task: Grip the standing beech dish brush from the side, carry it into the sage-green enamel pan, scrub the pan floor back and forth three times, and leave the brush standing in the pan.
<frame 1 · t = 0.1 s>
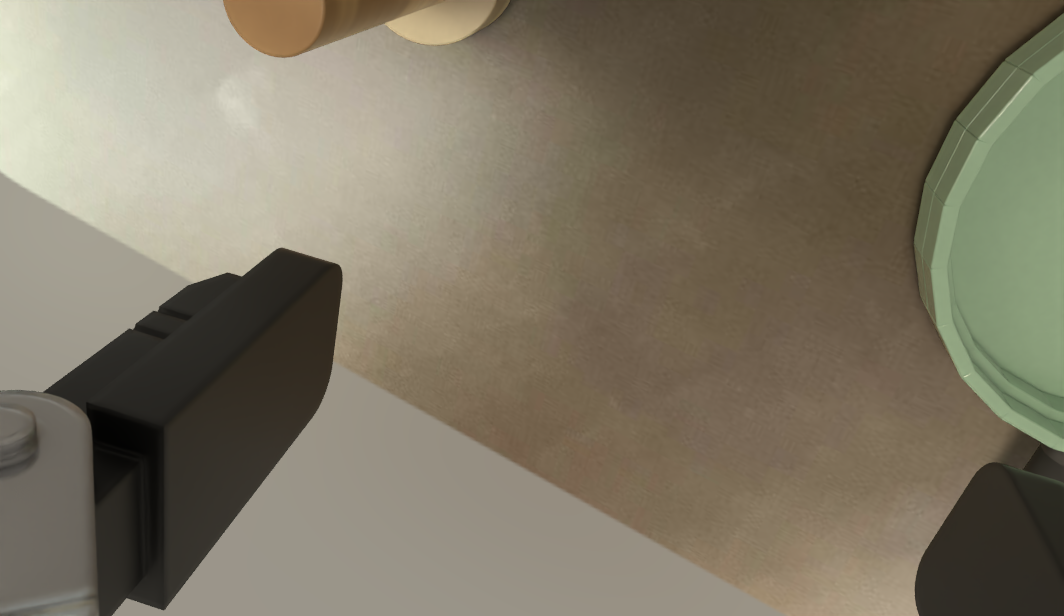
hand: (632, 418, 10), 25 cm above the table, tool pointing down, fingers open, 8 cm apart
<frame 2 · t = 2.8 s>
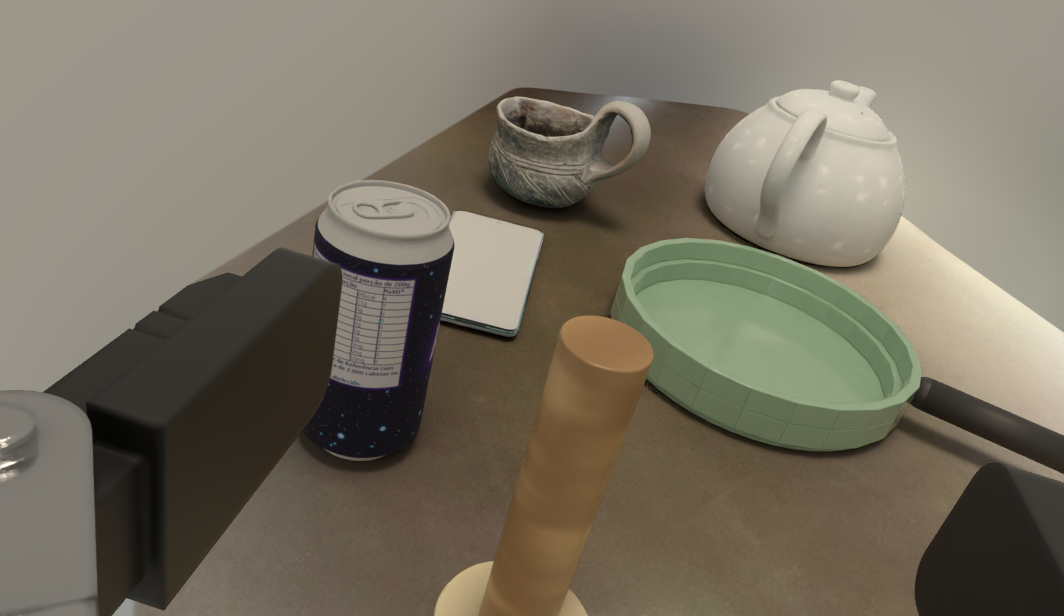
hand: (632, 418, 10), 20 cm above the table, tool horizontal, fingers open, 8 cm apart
pan: (749, 355, 53), on the table
teapot: (784, 230, 74), on the table
smartphone: (480, 273, 54), on the table
mug: (552, 205, 67), on the table
beverage can: (357, 433, 38), on the table
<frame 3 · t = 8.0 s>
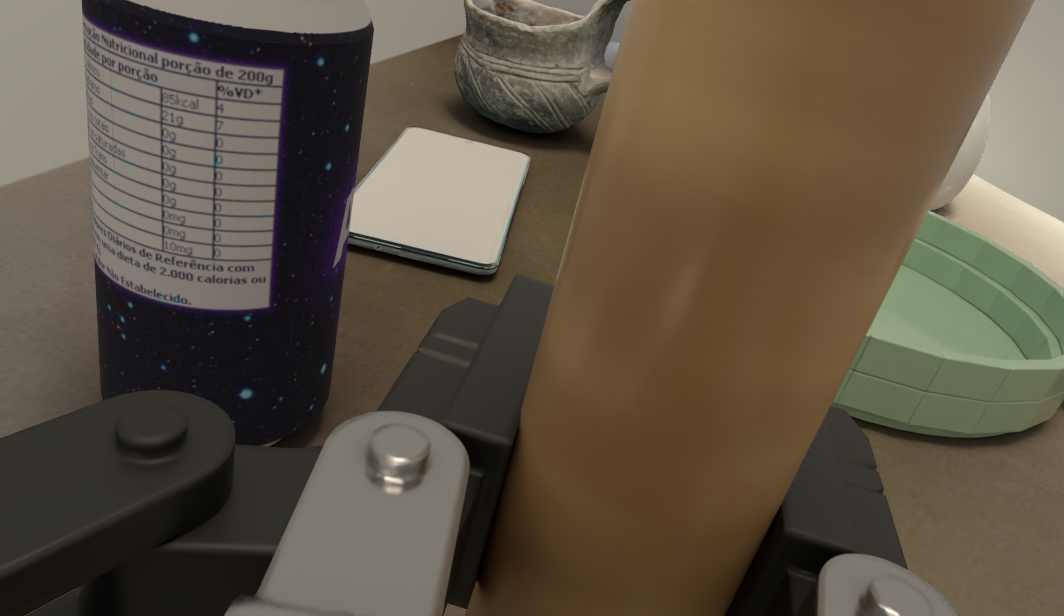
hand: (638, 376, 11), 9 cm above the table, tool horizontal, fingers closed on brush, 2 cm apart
pan: (828, 308, 37), on the table
teapot: (830, 173, 59), on the table
smartphone: (442, 199, 38), on the table
mug: (539, 133, 51), on the table
beverage can: (219, 413, 22), on the table
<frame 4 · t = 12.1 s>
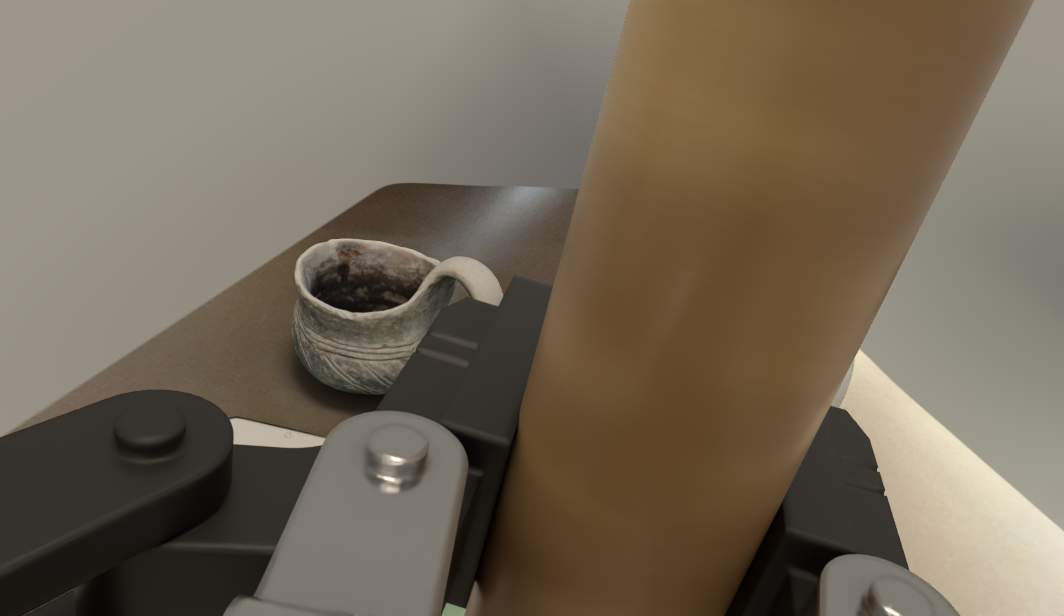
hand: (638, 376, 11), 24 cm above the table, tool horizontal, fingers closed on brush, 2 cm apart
teapot: (703, 388, 57), on the table
smartphone: (233, 540, 37), on the table
mug: (386, 382, 50), on the table
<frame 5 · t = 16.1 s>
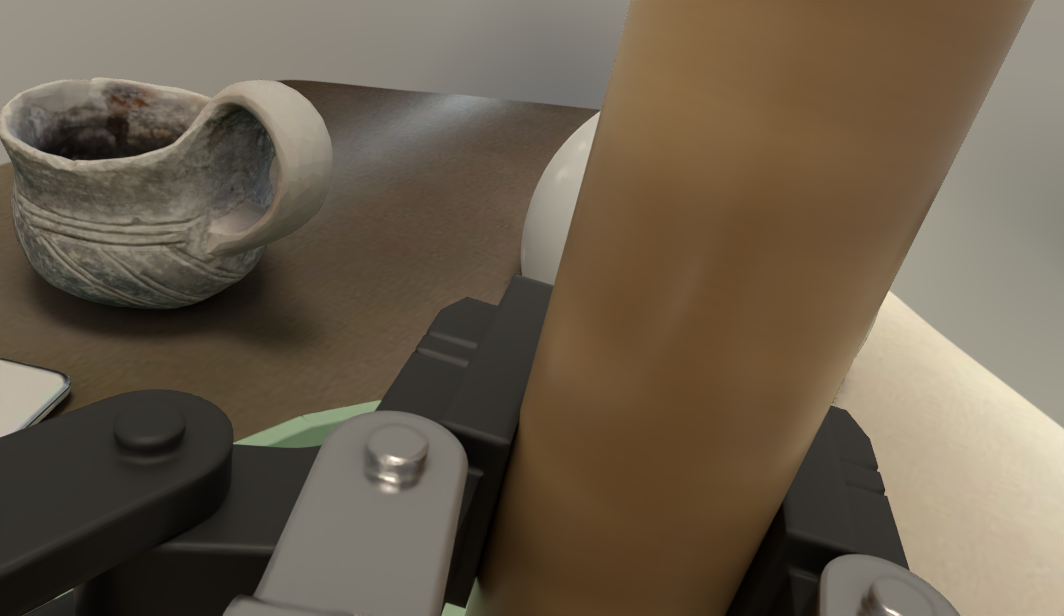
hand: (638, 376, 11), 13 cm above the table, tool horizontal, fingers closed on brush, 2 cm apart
teapot: (669, 324, 41), on the table
mug: (183, 297, 33), on the table
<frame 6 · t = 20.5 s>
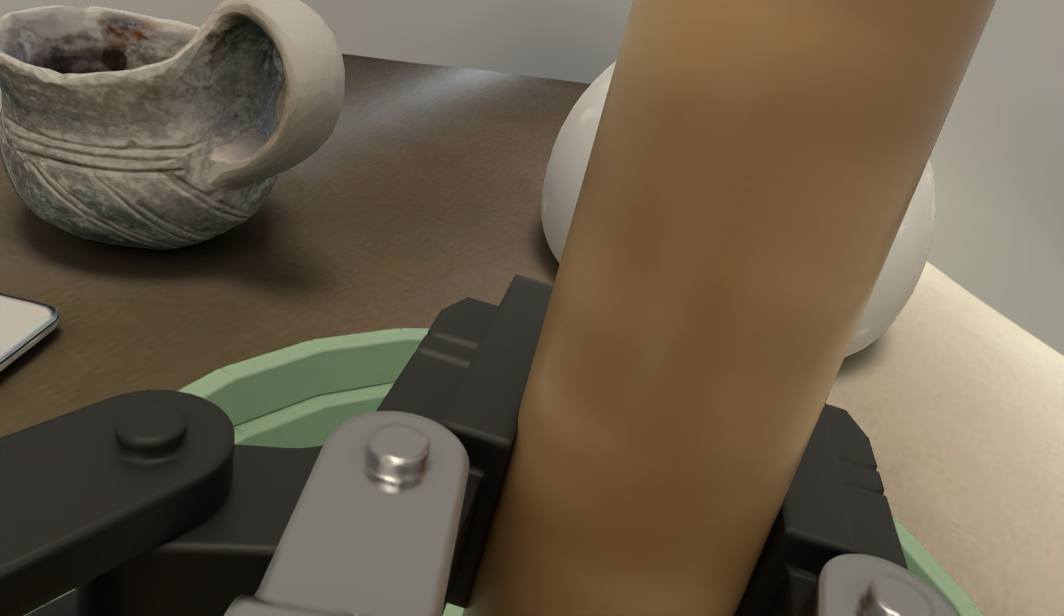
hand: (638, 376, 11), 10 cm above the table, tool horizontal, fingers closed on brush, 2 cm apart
teapot: (698, 284, 38), on the table
mug: (184, 242, 31), on the table
when the fingers open (9 cm above the table, at t = 24.4 s): brush drops 1 cm, resting on pan.
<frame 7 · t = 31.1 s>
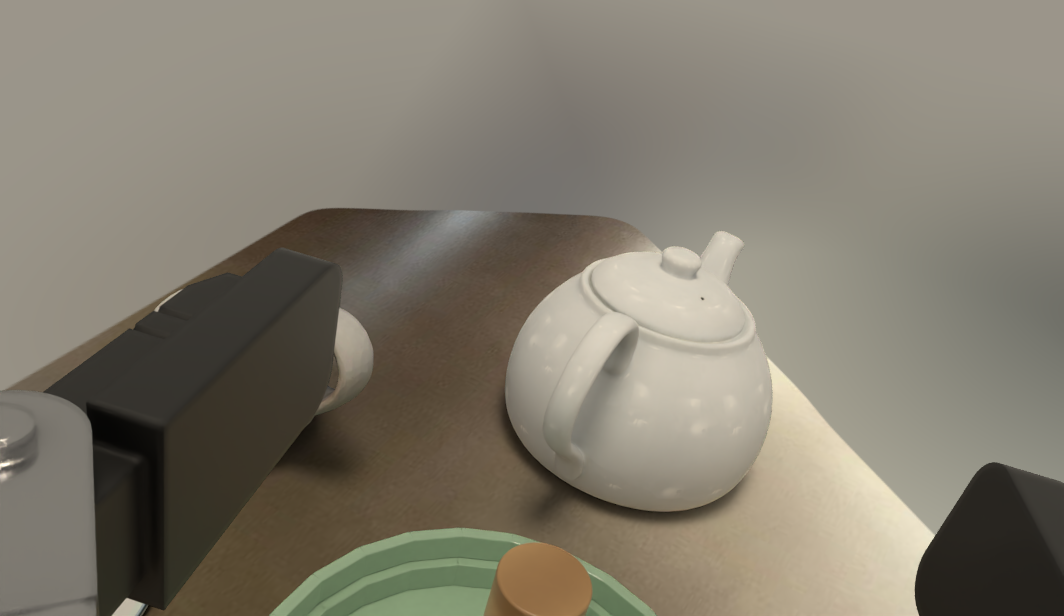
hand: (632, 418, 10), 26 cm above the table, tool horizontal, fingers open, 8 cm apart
teapot: (618, 436, 54), on the table
mug: (263, 435, 46), on the table
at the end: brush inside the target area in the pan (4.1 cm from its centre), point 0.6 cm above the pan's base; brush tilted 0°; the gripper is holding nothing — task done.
